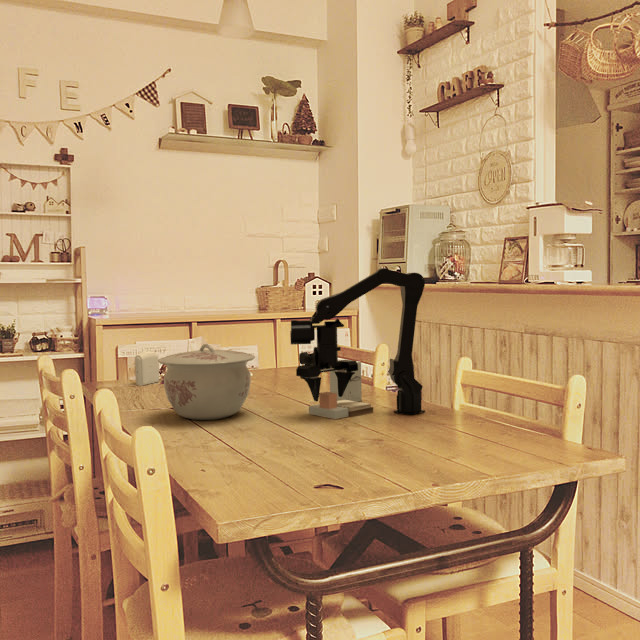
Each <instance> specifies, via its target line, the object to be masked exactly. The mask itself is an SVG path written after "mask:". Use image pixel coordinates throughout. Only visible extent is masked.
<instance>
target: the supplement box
mask: <svg viewBox="0 0 640 640" xmlns="http://www.w3.org/2000/svg"><path fill="white" fill-rule="evenodd" d="M355 361H356V362H357V364H358V371H352V372H355V374H353V375H352V377H351V379H350V381H349V383H348V385H347V387H346V389H345V391H344V394H343V396H342V397H339V395H338V381H337V376H336V374H335V372H334V371H329V392H332V393H337V401H339V400H350V401H356V402H362V361H360V360H355ZM336 371H337V370H336Z"/></svg>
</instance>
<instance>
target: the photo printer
mask: <svg viewBox="0 0 640 640" xmlns="http://www.w3.org/2000/svg"><path fill="white" fill-rule="evenodd" d="M158 360H159V354H158V353H157V352H156V351H151V350H150V351H149V350H145V351H141V352H139V353H137V354H136V355H135V356H134V371H135V384H136V386H139V387H140V386H142V387H143V386H145V385H150V384H155V383H159V382H160V363H159V362H158Z"/></svg>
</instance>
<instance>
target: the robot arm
mask: <svg viewBox="0 0 640 640" xmlns="http://www.w3.org/2000/svg"><path fill="white" fill-rule="evenodd" d="M384 284H390V285H393V286H396V287H399V289H400V297H401V302H402V304H401V305H402V306H401V307H402V308H401V317H400V326H399V334H398V343H397V351H396V355H395V357H394V359H393V358H389V369H388V370H387V373H388V374H389V378H390V380H391V381H392V382H393V383H394V384H395V385H396V386H397V389H398V390H397V395H396V410H395V409H394V410H393V413H395V414H401V415H406V416H414V415H418V414H422V413H426V410H424V409H422V390H423V385H422V384H421V383H420V382H419V381H418V380H417V379H416V378H415V366H414V365H415V364H414V359H413V348H414V340H415V339H414V338H415V330H416V323H417V314H418V312H417V311H418V305H419V303H420V300H421V298H422V296H423V293H424V289H425V285H426V280H425V278H424V276H423V275H422V274H420V273H418V272H407V273H404V272H400V271H396V270H391V269H389V268H387V267H381V268H378V269H377V270H376V271H375V272H373V273H371V274H369V275H368V276H366V277H365V278H364V279H363V278H362V279H361V280H360V281H358V282H357V283H355V284H353V285H351V286H350V287H348V288H346V289H345V290H343V291H340V292H338V293H335V294H332V295H329V296H327V297H324V298H322V299H320V300H318V301H317V302H316V305H315V312H314V313H313V314H312V316H311V317H310V319H306V320H298V319H292V320H290V331H289V333H290V334H289V336H290V345H311V344H312V342H313V341H315V340H316V346H314V347H313V352H312V353H308V352H307V351H303V352H300V353H299V355H298V356H299V357H298V360H299V364H300V365H298V366H297V368H296V371H295V372H296V374H295V375H296V377H299V378H300V379H301V380H303V381H305V382H306V383H307V386H308V387H309V390H310V393H311V396H312V398H313V401H314V402H319V393H321V392H320V391H321V382H322V377H320V375H321V373H322V374H323V373H327V372H329V373H330V371H334V372H335V374H336V376H337V381H338V395H339V397H342V396H343V394H344V391H345V389H346V387H347V385H348V383H349V381H350V379H351V377H352V375H353V374H355V372H352V371H358V364H357V362H356V361H357V360H352V359H351V360H350V359H339V358H338V356H339V355H338V354H339V353H338V352H339V351H342V349H341V348H342V347H341V346H338V328H343V327H345V324H344V323H342V322H341V320H340V319H339V318H338V317H337V318H335V317H336V316H337V315H338V314H340V313H341V312H342V311H343V310H344V309H345V308H346V307H347V306H349V305H350V304H351V303H353V302H354V301H356V300H357V299H359V298H361V297H363V296H364V295H366V294H368V293H369V292H371V291H372V290H374V289H376V288H377V287H380V286H381V285H384ZM333 319H335V320H333ZM324 320H325V321H324ZM329 320H330V321H329ZM332 320H333V321H332ZM323 321H324V323H323V324H320V323H322V322H323ZM318 324H319V325H318ZM315 329H316V330H315ZM315 331H316V332H315ZM315 333H316V334H315ZM315 337H316V339H315ZM336 370H337V371H336Z"/></svg>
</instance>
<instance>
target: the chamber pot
mask: <svg viewBox="0 0 640 640" xmlns="http://www.w3.org/2000/svg"><path fill="white" fill-rule="evenodd" d="M255 358H256V356H255V355H253V354H251V353H247V352H243V351H237V350H230V349H229V350H228V349H227V350H226V349H214V348H213V347H212V345H210V344H208V343H205V344H203V345H201V347H200V348H199V349H198V350H192V351H185V352H184V351H183V352H178V353H173V354H169V355H166V356H163V357H160V358H158V362H159V365H160V364H161V365H166V368H167V370H166V372H165V374H164V375H163V388H164V391H165V395H166V399H167V401H168V402H169V403H170V405H171V407H172V408H173V410H174V411H175V413H176V414H177V415H178V416H180V417H183V418H186V419H189V420H193V421H215V420H222V419H226V418H229V417H231V416H233V415H236V414H238V412H240V410H241V409H242V407H243V406H244V403H246V400H247V398H248V397H249V395H250V388H251V384H252V383H251V381H252V380H251V378H252V375H251V374H252V373H251V372H250V369H249V368H248V367H247V364H248V362H251V361H253V360H254V359H255Z"/></svg>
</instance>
